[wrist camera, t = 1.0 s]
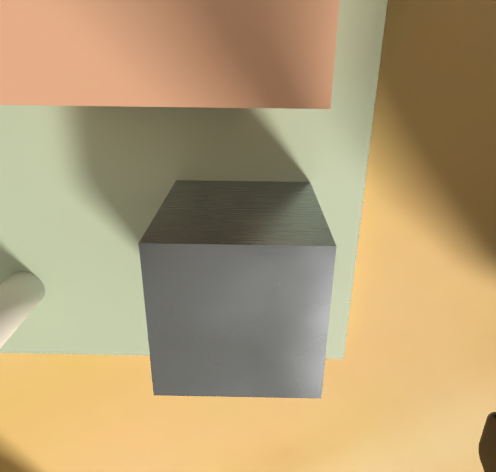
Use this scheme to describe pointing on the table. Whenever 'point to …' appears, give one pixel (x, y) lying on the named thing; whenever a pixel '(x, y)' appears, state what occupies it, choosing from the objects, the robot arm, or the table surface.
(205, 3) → the cover
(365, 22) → the board
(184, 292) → the gray metal block
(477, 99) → the table surface
